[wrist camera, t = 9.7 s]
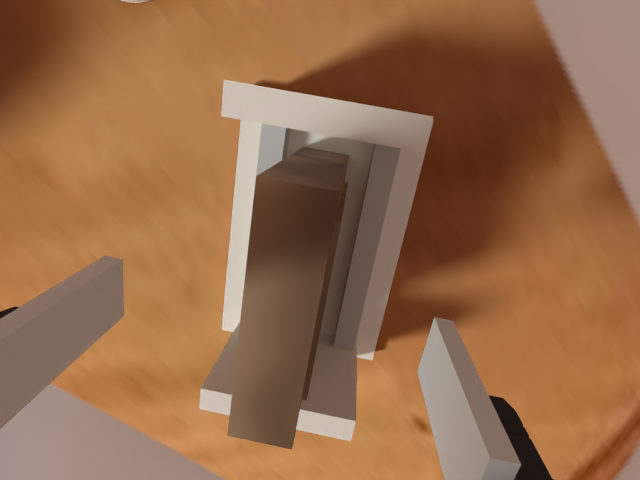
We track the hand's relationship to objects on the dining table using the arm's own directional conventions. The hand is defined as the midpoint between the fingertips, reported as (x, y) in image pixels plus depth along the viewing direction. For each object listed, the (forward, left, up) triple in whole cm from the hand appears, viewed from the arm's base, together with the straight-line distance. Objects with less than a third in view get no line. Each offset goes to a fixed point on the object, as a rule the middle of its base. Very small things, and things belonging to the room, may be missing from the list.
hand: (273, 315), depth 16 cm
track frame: (0, 0, -12) cm, 12 cm away
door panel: (0, 0, -11) cm, 11 cm away
